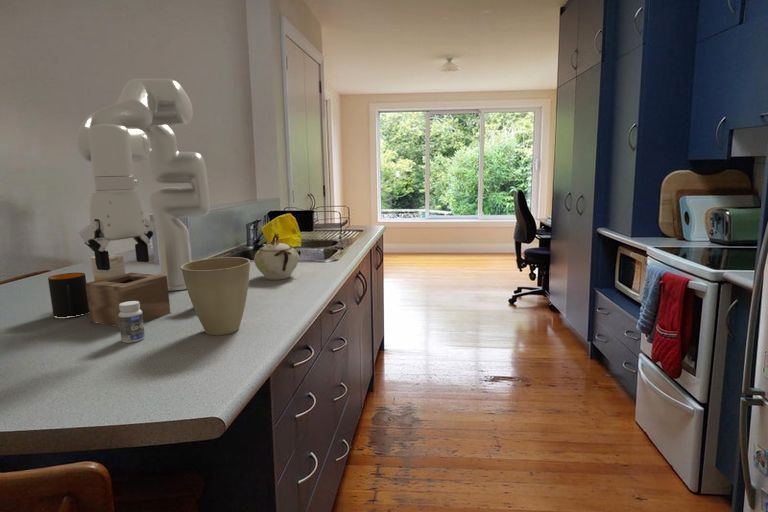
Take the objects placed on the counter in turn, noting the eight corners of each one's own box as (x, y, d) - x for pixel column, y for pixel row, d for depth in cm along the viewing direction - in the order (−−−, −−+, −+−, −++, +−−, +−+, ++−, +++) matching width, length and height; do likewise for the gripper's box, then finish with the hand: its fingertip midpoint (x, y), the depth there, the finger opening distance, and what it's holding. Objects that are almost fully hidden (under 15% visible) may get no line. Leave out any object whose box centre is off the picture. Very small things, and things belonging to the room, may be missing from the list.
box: (90, 322, 124) (85, 283, 123) (135, 308, 136) (130, 272, 134) (127, 327, 119) (122, 287, 117) (170, 312, 131) (166, 275, 129)
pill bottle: (135, 343, 108) (131, 306, 107) (116, 342, 109) (111, 305, 108) (149, 336, 113) (145, 300, 111) (131, 335, 114) (127, 299, 112)
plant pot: (202, 321, 123) (196, 257, 120) (262, 320, 123) (257, 256, 120) (176, 342, 108) (168, 270, 106) (243, 341, 108) (238, 269, 105)
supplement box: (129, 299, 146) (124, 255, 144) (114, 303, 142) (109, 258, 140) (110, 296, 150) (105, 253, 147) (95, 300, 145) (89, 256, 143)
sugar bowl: (309, 279, 167) (307, 234, 164) (266, 285, 159) (262, 239, 156) (288, 269, 183) (285, 229, 181) (248, 275, 176) (244, 232, 173)
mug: (53, 324, 124) (47, 283, 122) (53, 313, 134) (48, 275, 132) (91, 318, 128) (86, 278, 126) (89, 307, 138) (84, 271, 136)
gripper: (137, 184, 114) (145, 258, 117) (62, 187, 98) (73, 272, 101) (161, 184, 111) (168, 259, 114) (88, 186, 95) (99, 274, 98)
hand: (124, 265), depth 107 cm, fingers open, 9 cm apart
